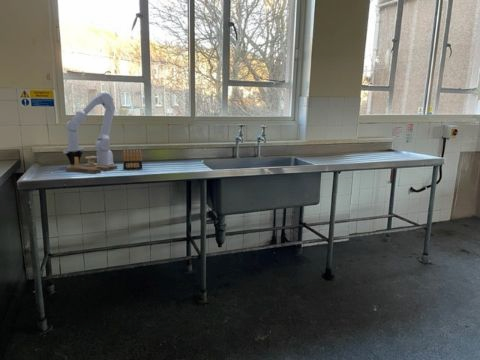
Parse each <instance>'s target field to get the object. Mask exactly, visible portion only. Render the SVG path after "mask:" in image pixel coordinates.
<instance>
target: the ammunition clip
mask: <svg viewBox="0 0 480 360" xmlns="http://www.w3.org/2000/svg"><path fill="white" fill-rule="evenodd" d="M122 152H123V154H122V155H123V156H122V163H123V165H122V167H123V168H122V170H123V171H127V170H128V171H129V170H143V155H142V150H141V148H140V149H139V150H138V149H137V148H136V150H135V148H133V149H128V148H127V149H126V150H125V148H124V149H123V151H122Z"/></svg>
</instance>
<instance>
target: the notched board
mask: <svg viewBox="0 0 480 360" xmlns="http://www.w3.org/2000/svg"><path fill="white" fill-rule="evenodd" d="M86 164H88V162H87V163H81V164H79V165H76V166H71V165H70V166H66V167H65V171H66V172H72V173H83V174H84V173H85V174H92V175H93V174H100V173H102V172H103V171H104V172H109V171H113V170H117V169H118V168H117V167H118V166H117V165H115V164H111V165H105V164H97V163H96V164H97V165H96V166H86Z"/></svg>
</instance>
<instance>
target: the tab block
mask: <svg viewBox="0 0 480 360" xmlns="http://www.w3.org/2000/svg"><path fill="white" fill-rule="evenodd" d="M74 162H75V163H74V165H71V164H70V167H71V166H76V165H80V162H79V159H78V157H75V159H74Z"/></svg>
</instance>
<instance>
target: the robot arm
mask: <svg viewBox="0 0 480 360" xmlns="http://www.w3.org/2000/svg"><path fill="white" fill-rule="evenodd" d="M98 105H102V107H103V108H104V109H105V111H104V115H103V120H102V124H101V128H100V129H101V130H100V134H99V135H98V137H97V140H95V143H94V145H95V147H96V164H105V165H115V162H114V154H113V151H111V150H110V146H111V144H110V132H111V128H112V124H113V123H112V122H113V119H114V114H115V111H116V109H115V108H116V107H115V104H114V98H113V96H112V95H111V94H110V93H109V92H97V94H96V95H95V96H94V97H93V98H92V99H91V100H90V101H89V102H88V104H87V105H86V106H85V107H84V108H83V109H82V110H78V111H76V112H75V114H74V115H73V117H71V118H70V120H69V121H67V122H66V125H65V129H66V130H67V145H68V148H67V149H63V151H62V153H63V154H65V155H66V157H67V159H68V160H69V163H70V166H71V165H74V163H75V162H74V159H75V157H78V159H79V163H80V161H81V157H82V155H83V153H84V151H85V147H80V143H79V141H80V140H79V131H78V130H79V128H80V126H81V125H82V124H83V123H84V122H85V120H87V118H88V114H89V113H90V112H92V110H93V109H94V108H95V107H96V106H98Z"/></svg>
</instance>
